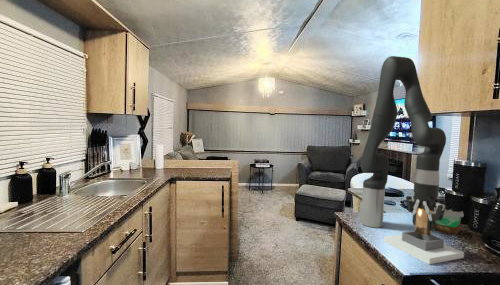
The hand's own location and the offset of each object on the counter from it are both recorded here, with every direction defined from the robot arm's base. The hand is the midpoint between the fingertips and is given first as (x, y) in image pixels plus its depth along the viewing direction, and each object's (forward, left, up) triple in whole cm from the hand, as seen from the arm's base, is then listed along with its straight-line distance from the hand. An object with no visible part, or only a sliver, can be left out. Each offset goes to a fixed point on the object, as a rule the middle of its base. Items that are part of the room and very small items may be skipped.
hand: (423, 227), depth 97 cm
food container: (-10, +28, -8) cm, 31 cm away
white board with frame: (0, 0, -8) cm, 8 cm away
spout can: (0, 0, -2) cm, 2 cm away
